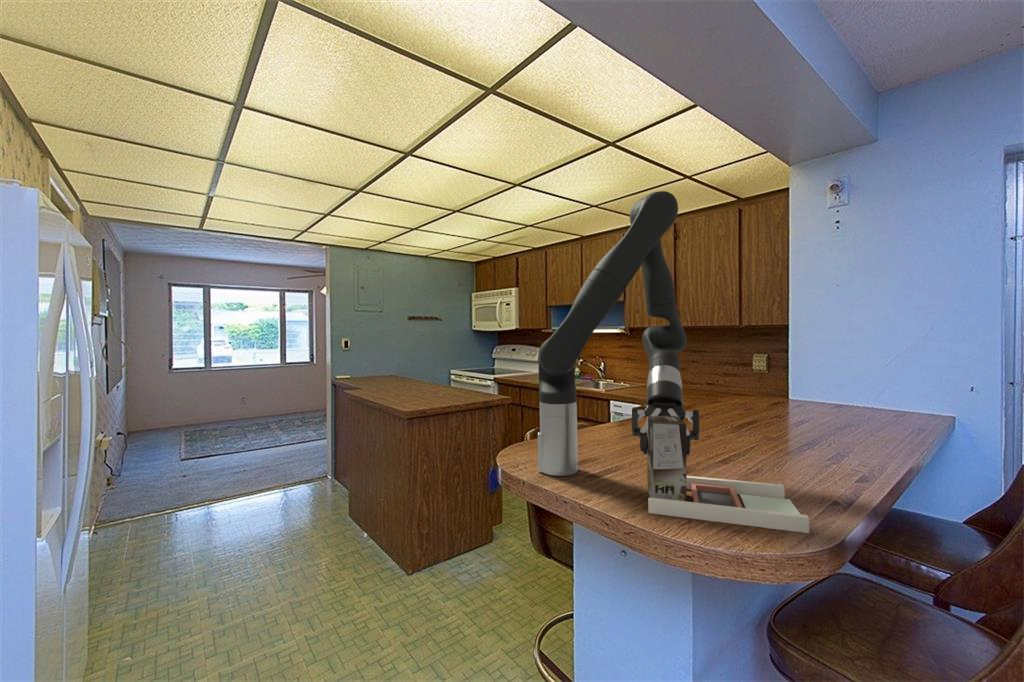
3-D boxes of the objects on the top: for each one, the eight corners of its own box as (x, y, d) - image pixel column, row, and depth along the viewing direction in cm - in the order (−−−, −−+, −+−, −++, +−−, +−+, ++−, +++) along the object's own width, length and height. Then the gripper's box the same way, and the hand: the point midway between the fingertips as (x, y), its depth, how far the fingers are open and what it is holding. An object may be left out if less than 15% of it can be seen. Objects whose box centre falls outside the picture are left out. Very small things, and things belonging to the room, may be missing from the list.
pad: (750, 520, 72) (750, 518, 72) (739, 496, 83) (739, 494, 83) (809, 527, 69) (809, 525, 69) (789, 501, 80) (789, 499, 80)
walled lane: (648, 513, 76) (648, 499, 76) (652, 483, 91) (651, 472, 91) (809, 533, 67) (808, 518, 67) (783, 496, 82) (782, 484, 82)
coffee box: (688, 509, 77) (687, 423, 77) (652, 506, 78) (651, 422, 78) (678, 491, 86) (677, 415, 86) (646, 489, 87) (646, 414, 87)
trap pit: (695, 515, 74) (694, 506, 74) (691, 490, 87) (691, 483, 87) (744, 521, 72) (744, 512, 72) (733, 494, 84) (733, 487, 84)
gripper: (630, 378, 94) (626, 441, 83) (699, 379, 89) (704, 446, 78) (633, 398, 99) (629, 460, 88) (698, 400, 94) (703, 466, 83)
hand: (664, 453), depth 83 cm, fingers closed on coffee box, 7 cm apart
